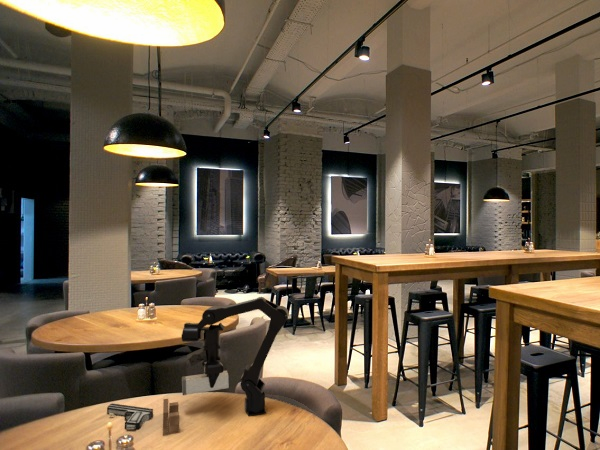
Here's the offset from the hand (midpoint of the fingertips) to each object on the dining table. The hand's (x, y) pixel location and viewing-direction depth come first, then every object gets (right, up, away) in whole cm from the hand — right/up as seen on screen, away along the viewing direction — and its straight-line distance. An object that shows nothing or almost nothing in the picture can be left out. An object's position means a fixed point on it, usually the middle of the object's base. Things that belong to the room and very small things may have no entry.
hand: (211, 385), depth 135 cm
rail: (-2, -1, -1) cm, 2 cm away
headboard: (-10, -9, -11) cm, 17 cm away
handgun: (-29, -9, -8) cm, 31 cm away
